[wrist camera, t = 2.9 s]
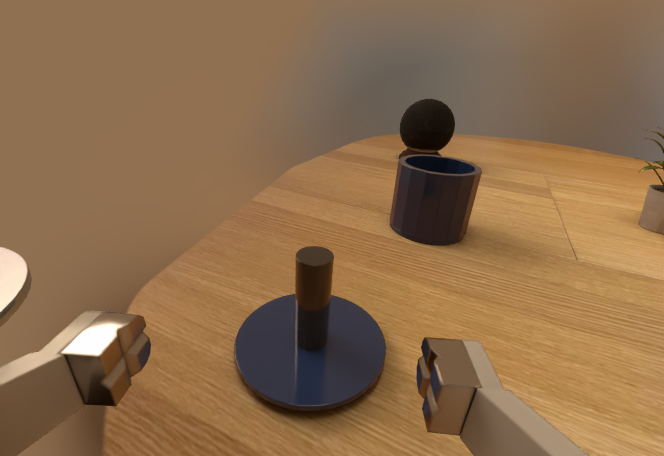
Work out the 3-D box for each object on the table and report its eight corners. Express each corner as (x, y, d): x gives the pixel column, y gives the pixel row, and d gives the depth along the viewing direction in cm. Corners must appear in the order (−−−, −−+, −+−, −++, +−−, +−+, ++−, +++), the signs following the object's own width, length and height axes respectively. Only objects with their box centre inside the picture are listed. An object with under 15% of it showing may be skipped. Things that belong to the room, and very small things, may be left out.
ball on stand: (454, 161, 87) (467, 100, 80) (435, 170, 77) (448, 102, 71) (409, 152, 94) (418, 95, 88) (386, 159, 85) (394, 96, 78)
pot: (382, 234, 45) (392, 167, 41) (397, 208, 54) (406, 151, 50) (463, 252, 42) (483, 180, 38) (464, 221, 51) (480, 161, 47)
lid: (201, 380, 23) (184, 278, 19) (281, 289, 33) (280, 210, 29) (360, 446, 20) (377, 338, 16) (396, 323, 29) (412, 238, 26)
